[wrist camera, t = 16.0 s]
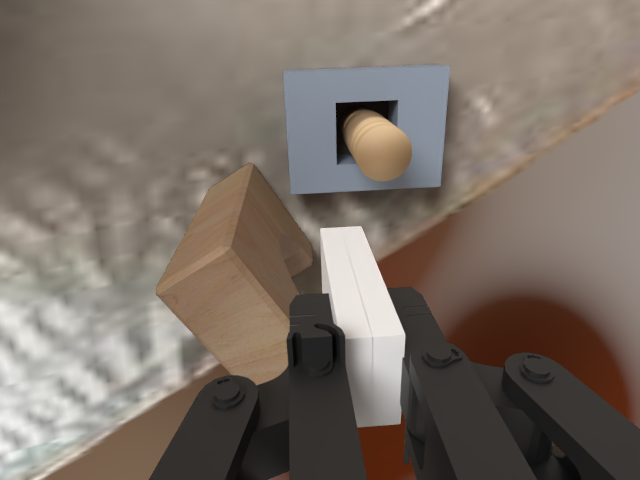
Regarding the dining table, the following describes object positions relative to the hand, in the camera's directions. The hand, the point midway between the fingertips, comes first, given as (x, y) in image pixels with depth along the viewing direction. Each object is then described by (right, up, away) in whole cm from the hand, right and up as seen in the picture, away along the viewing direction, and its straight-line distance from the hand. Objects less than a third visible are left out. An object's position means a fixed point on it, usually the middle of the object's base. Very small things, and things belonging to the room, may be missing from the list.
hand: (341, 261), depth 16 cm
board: (+3, +12, +26) cm, 29 cm away
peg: (+3, +12, +26) cm, 29 cm away
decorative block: (-7, +3, +29) cm, 30 cm away
